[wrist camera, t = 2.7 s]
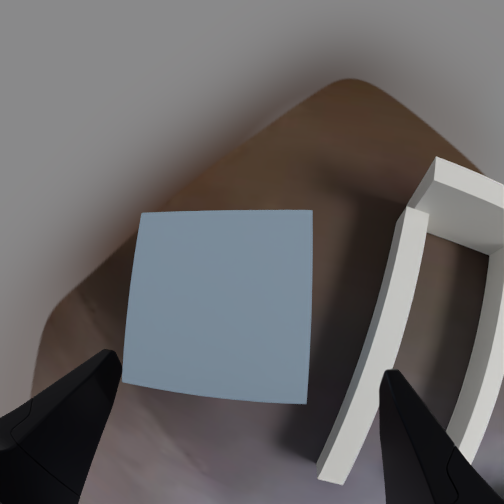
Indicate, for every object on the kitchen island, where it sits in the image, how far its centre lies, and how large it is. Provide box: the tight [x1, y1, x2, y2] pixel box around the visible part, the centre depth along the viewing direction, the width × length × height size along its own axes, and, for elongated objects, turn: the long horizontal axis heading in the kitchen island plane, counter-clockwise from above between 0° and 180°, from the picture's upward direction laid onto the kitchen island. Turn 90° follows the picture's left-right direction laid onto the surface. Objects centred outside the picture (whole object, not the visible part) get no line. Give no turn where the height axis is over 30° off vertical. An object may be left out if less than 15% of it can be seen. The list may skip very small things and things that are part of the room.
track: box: [316, 157, 504, 485], centre depth 14 cm, size 18×9×6 cm, turn 160°
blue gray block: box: [122, 210, 313, 404], centre depth 13 cm, size 4×4×13 cm
